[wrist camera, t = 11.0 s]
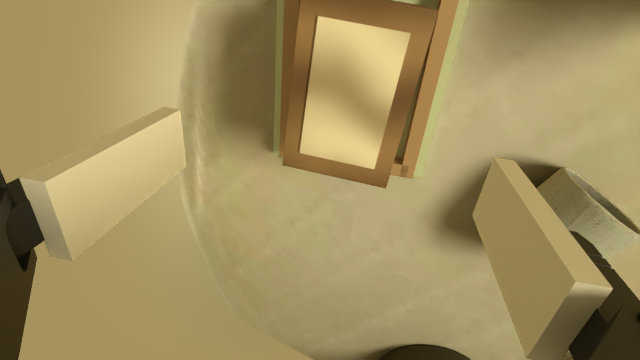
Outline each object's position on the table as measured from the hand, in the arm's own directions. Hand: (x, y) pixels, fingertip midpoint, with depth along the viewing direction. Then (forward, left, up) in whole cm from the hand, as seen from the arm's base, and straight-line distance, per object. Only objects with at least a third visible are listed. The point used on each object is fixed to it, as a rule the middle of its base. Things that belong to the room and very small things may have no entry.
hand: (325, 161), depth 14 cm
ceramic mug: (-10, -21, -18) cm, 30 cm away
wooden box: (0, 0, -18) cm, 18 cm away
